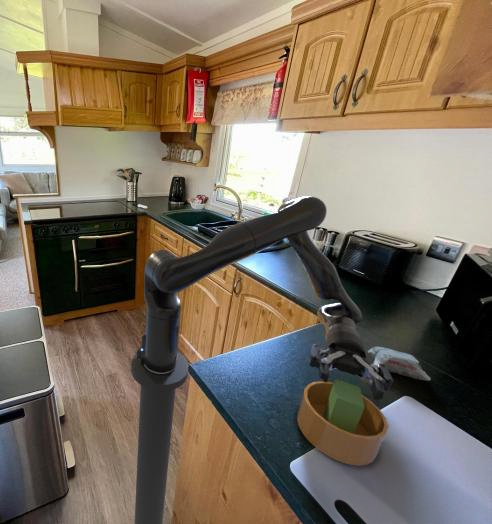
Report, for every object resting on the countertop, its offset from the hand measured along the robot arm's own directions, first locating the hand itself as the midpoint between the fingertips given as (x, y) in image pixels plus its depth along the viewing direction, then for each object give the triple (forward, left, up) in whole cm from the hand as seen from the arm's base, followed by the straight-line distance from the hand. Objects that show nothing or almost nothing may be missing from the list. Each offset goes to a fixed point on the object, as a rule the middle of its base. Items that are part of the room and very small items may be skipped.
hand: (351, 387), depth 56 cm
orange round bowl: (0, 0, -12) cm, 12 cm away
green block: (0, 0, -12) cm, 12 cm away
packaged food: (+16, +32, -13) cm, 38 cm away
